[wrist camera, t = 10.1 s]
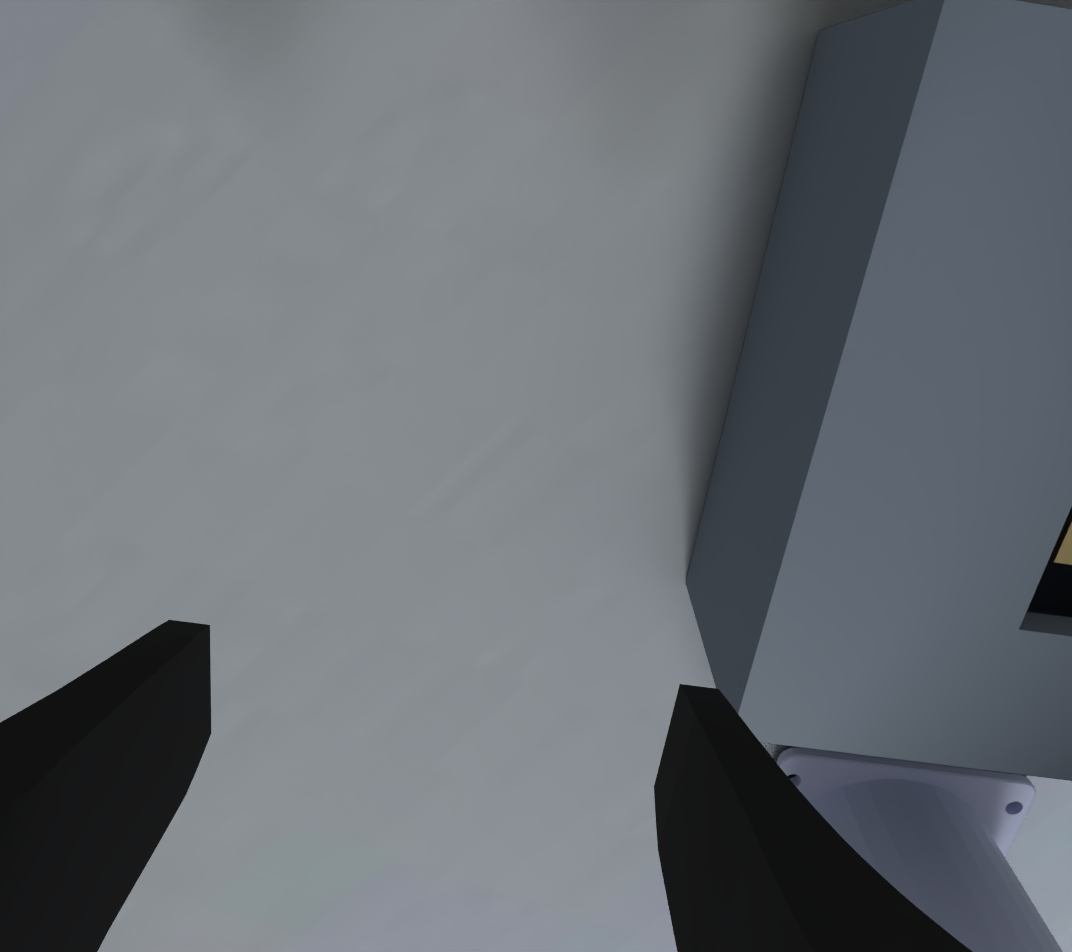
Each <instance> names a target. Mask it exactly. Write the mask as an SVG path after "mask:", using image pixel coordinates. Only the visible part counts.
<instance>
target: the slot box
mask: <svg viewBox="0 0 1072 952" xmlns="http://www.w3.org/2000/svg"><path fill="white" fill-rule="evenodd" d="M1071 507H1072V9H1067V8H1060V7H1054V6H1048V5H1042V4H1036V3H1030V2H1023V1H1017V0H912V1H909V2H906V3H903V4H900V5H897V6H893V7H890V8H887V9H884V10H881V11H878V12H875V13H871V14H868V15H865V16H862V17H859V18H856V19H853V20H849V21H846V22H843V23H840V24H837V25H834V26H831V27H827V28H824V29H821V30H819V32H818V36H817V41H816V45H815V49H814V53H813V57H812V61H811V65H810V70H809V74H808V78H807V82H806V86H805V90H804V94H803V99H802V103H801V107H800V111H799V115H798V119H797V123H796V128H795V132H794V136H793V140H792V144H791V148H790V153H789V157H788V161H787V165H786V169H785V173H784V177H783V182H782V186H781V190H780V194H779V198H778V202H777V206H776V211H775V215H774V219H773V223H772V227H771V231H770V235H769V240H768V244H767V248H766V252H765V256H764V260H763V264H762V269H761V273H760V277H759V281H758V285H757V289H756V294H755V298H754V302H753V306H752V310H751V314H750V318H749V323H748V327H747V331H746V335H745V339H744V343H743V347H742V352H741V356H740V360H739V364H738V368H737V372H736V376H735V381H734V385H733V389H732V393H731V397H730V401H729V406H728V410H727V414H726V418H725V422H724V426H723V430H722V435H721V439H720V443H719V447H718V451H717V455H716V459H715V464H714V468H713V472H712V476H711V480H710V484H709V488H708V493H707V497H706V501H705V505H704V509H703V513H702V518H701V522H700V526H699V530H698V534H697V538H696V542H695V547H694V551H693V555H692V559H691V563H690V567H689V571H688V576H687V580H686V586H687V589H688V593H689V596H690V600H691V603H692V606H693V610H694V613H695V617H696V620H697V624H698V627H699V630H700V634H701V637H702V641H703V644H704V648H705V651H706V655H707V658H708V661H709V665H710V668H711V672H712V675H713V679H714V682H715V685H716V689H719V690H720V691H721V692H722V694H723V695H724V696H725V697H726V699H727V700H728V701H729V703H730V704H731V705H732V706H733V708H734V709H735V710H736V712H737V713H738V714H739V716H740V717H741V718H742V720H743V721H744V722H745V724H746V725H747V726H748V727H749V729H750V730H751V731H752V733H753V734H754V735H755V737H756V738H757V739H758V740H759V742H762V743H770V744H778V745H787V746H795V747H803V748H811V749H819V750H827V751H835V752H843V753H851V754H859V755H868V756H876V757H884V758H892V759H900V760H908V761H916V762H924V763H932V764H940V765H948V766H957V767H965V768H973V769H981V770H989V771H997V772H1005V773H1013V774H1021V775H1029V776H1038V777H1046V778H1054V779H1062V780H1070V781H1072V565H1069V564H1062V563H1055V562H1053V561H1052V560H1051V559H1050V556H1051V553H1052V551H1053V549H1054V546H1055V544H1056V542H1057V539H1058V537H1059V535H1060V532H1061V530H1062V528H1063V525H1064V523H1065V521H1066V518H1067V516H1068V514H1069V511H1070V509H1071Z"/></svg>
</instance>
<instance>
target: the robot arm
mask: <svg viewBox="0 0 1072 952" xmlns="http://www.w3.org/2000/svg"><path fill="white" fill-rule="evenodd" d="M210 735H211V685H210V625H205V624H197V623H189V622H181V621H173V620H168V621H167V622H165V623H163V624H162V625H160V626H158V627H157V628H155V629H153V630H152V631H150V632H149V633H147V634H145V635H144V636H142V637H141V638H139V639H138V640H136V641H134V642H133V643H131V644H130V645H128V646H127V647H125V648H124V649H122V650H121V651H119V652H117V653H116V654H114V655H113V656H111V657H110V658H108V659H107V660H105V661H103V662H102V663H100V664H99V665H97V666H95V667H94V668H92V669H91V670H89V671H87V672H86V673H84V674H83V675H81V676H79V677H78V678H76V679H75V680H73V681H71V682H70V683H68V684H67V685H65V686H63V687H62V688H60V689H59V690H57V691H55V692H54V693H52V694H50V695H48V696H46V697H45V698H43V699H41V700H39V701H38V702H36V703H34V704H32V705H31V706H29V707H27V708H25V709H24V710H22V711H20V712H18V713H17V714H15V715H13V716H11V717H9V718H8V719H6V720H4V721H2V722H1V723H0V952H97V951H98V949H99V947H100V945H101V943H102V942H103V940H104V938H105V936H106V934H107V932H108V930H109V928H110V927H111V925H112V923H113V921H114V920H115V918H116V916H117V914H118V913H119V911H120V909H121V908H122V906H123V904H124V902H125V901H126V899H127V897H128V895H129V894H130V892H131V890H132V888H133V887H134V885H135V883H136V881H137V880H138V878H139V876H140V874H141V873H142V871H143V869H144V868H145V866H146V864H147V862H148V861H149V859H150V857H151V855H152V854H153V852H154V850H155V848H156V847H157V845H158V843H159V841H160V840H161V838H162V836H163V834H164V833H165V831H166V829H167V827H168V826H169V824H170V822H171V820H172V819H173V817H174V815H175V813H176V811H177V810H178V808H179V806H180V804H181V802H182V801H183V799H184V797H185V795H186V793H187V791H188V788H189V786H190V784H191V781H192V779H193V777H194V774H195V772H196V770H197V767H198V765H199V762H200V760H201V757H202V755H203V752H204V750H205V747H206V745H207V742H208V740H209V737H210ZM792 774H795V775H796V776H795V777H793V778H788V777H787V776H789V775H792ZM654 793H655V811H656V827H657V840H658V851H659V857H660V862H661V868H662V873H663V878H664V884H665V889H666V894H667V900H668V905H669V910H670V915H671V920H672V926H673V931H674V936H675V941H676V946H677V951H678V952H1062V950H1061V948H1060V947H1059V945H1058V943H1057V942H1056V940H1055V939H1054V937H1053V935H1052V934H1051V932H1050V930H1049V929H1048V927H1047V925H1046V924H1045V922H1044V921H1043V919H1042V917H1041V916H1040V914H1039V912H1038V911H1037V909H1036V908H1035V906H1034V904H1033V903H1032V901H1031V899H1030V898H1029V896H1028V895H1027V893H1026V891H1025V890H1024V888H1023V886H1022V885H1021V883H1020V881H1019V880H1018V878H1017V877H1016V875H1015V873H1014V872H1013V870H1012V868H1011V867H1010V865H1009V864H1008V862H1007V860H1006V859H1005V857H1006V855H1007V853H1008V851H1009V849H1010V847H1011V845H1012V843H1013V841H1014V839H1015V837H1016V835H1017V833H1018V830H1019V828H1020V826H1021V824H1022V822H1023V820H1024V818H1025V816H1026V814H1027V812H1028V810H1029V808H1030V806H1031V803H1032V801H1033V799H1034V797H1035V794H1036V790H1035V787H1034V786H1033V784H1032V783H1031V782H1030V780H1029V779H1028V778H1027V777H1025V776H1022V775H1016V774H1008V773H1000V772H992V771H984V770H976V769H968V768H960V767H952V766H943V765H935V764H927V763H919V762H911V761H903V760H895V759H887V758H879V757H871V756H862V755H854V754H846V753H838V752H830V751H822V750H814V749H806V748H789V749H787V750H785V751H783V752H782V753H781V754H780V756H779V757H778V759H777V762H775V761H774V759H773V758H772V757H771V756H770V754H769V753H768V752H767V751H766V749H765V748H764V747H763V746H762V744H761V743H760V742H759V740H758V739H757V738H756V737H755V735H754V734H753V733H752V731H751V730H750V729H749V727H748V726H747V725H746V724H745V722H744V721H743V720H742V718H741V717H740V716H739V714H738V713H737V712H736V710H735V709H734V708H733V706H732V705H731V704H730V703H729V701H728V700H727V699H726V697H725V696H724V695H723V694H722V692H721V691H720V690H719V689H714V688H706V687H698V686H690V685H682V684H680V686H679V690H678V694H677V698H676V702H675V706H674V710H673V714H672V718H671V722H670V726H669V730H668V734H667V738H666V742H665V746H664V750H663V754H662V758H661V762H660V766H659V770H658V774H657V777H656V781H655V785H654ZM1011 802H1014V803H1012V804H1010V805H1008V804H1009V803H1011Z"/></svg>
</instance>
